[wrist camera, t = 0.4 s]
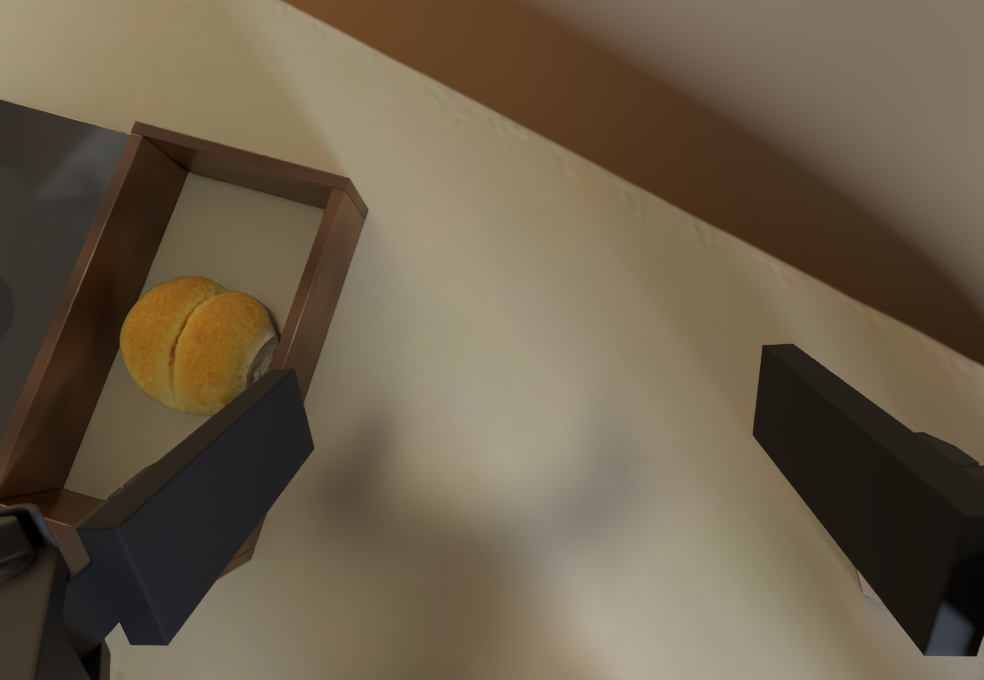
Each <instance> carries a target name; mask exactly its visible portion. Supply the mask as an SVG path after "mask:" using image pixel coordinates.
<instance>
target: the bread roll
mask: <svg viewBox="0 0 984 680" xmlns="http://www.w3.org/2000/svg"><path fill="white" fill-rule="evenodd" d="M277 347H278V336H277V334H276V332H275V330H274V327H273V325H272V322H271V319H270V317H269V314H268V313H267V311H266V309H265V308H264V307H263V306H262V305H261V304H260V303H259V302H258V301H257V300H256V299H255V298H253V297H252V296H250V295H248V294H245V293H243V292H237V291H232V292H229V291H227V290H225V289H223V288H222V287H221V286H220V285H218V284H216V283H215V282H213V281H212V280H210V279H207V278H204V277H200V276H185V277H180V278H176V279H173V280H169V281H166V282H163V283H161V284H159V285H157V286H156V287H154V288H153V289H151V290H150V291H148V292H147V293H146V294H145V295H144V296H142V297H141V298H140V299H139V300H138V301H137V302H136V303H135V305H134V306H133V307H132V309H131V310H130V311H129V313H128V315H127V317H126V319H125V321H124V323H123V326H122V329H121V333H120V349H121V355H122V359H123V362H124V364H125V366H126V368H127V370H128V372H129V374H130V376H131V377H132V379H133V380H134V381H135V383H136V384H137V385H138V387H139V388H140V389H141V390H142V391H143V392H144V393H145V394H146V395H147V396H148V397H150V398H151V399H152V400H154V401H155V402H157V403H159V404H161V405H163V406H166V407H168V408H171V409H174V410H179V411H182V412H185V413H188V414H194V415H195V414H196V415H204V416H211V415H215V414H216V413H218V412H219V411H220V410H221V409H222V408H224V407H225V406H226V405H227V404H229V403H230V402H231V401H232V400H233V399H235V398H236V397H237V396H238V395H240V394H241V393H242V392H243V391H244V390H246V389H247V388H248V387H249V386H251V385H252V384H253V383H254V382H255V381H257V380H258V379H259V378H260V377H262V376H263V375H264V374H265V373H266V372H268V371H269V370H270V367H271V364H272V361H273V358H274V356H275V353H276V350H277Z"/></svg>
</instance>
